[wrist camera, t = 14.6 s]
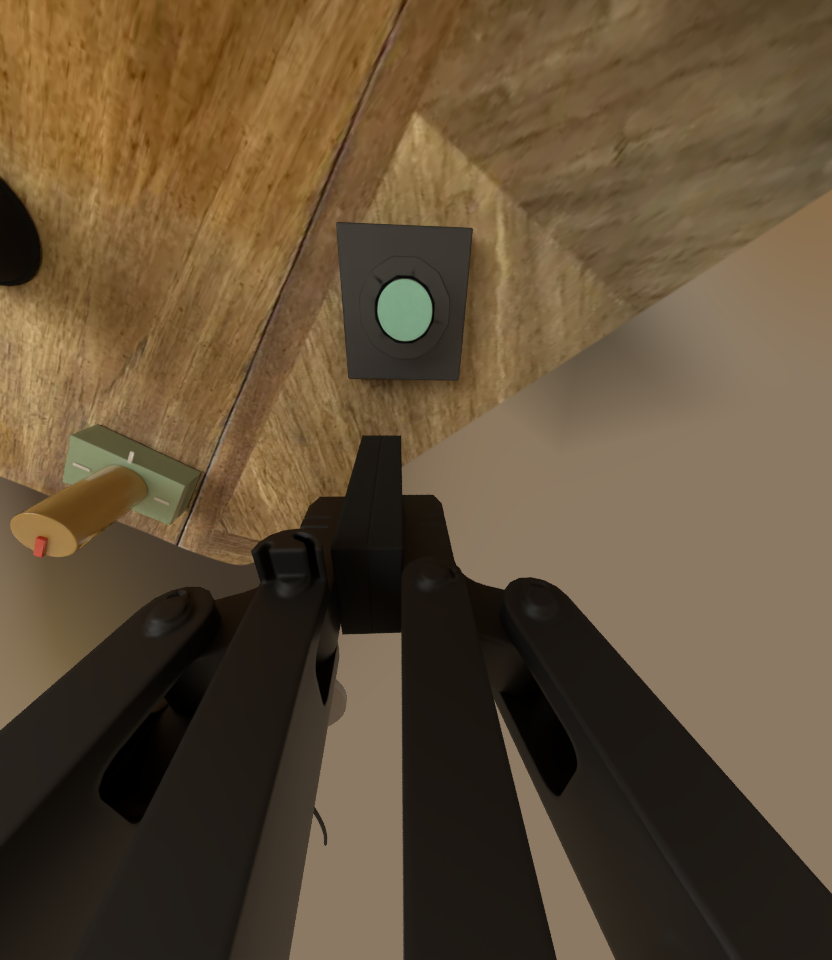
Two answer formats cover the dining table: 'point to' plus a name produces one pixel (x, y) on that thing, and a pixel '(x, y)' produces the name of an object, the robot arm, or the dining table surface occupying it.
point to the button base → (392, 256)
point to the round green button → (404, 310)
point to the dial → (79, 511)
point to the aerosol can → (16, 241)
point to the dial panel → (159, 472)
